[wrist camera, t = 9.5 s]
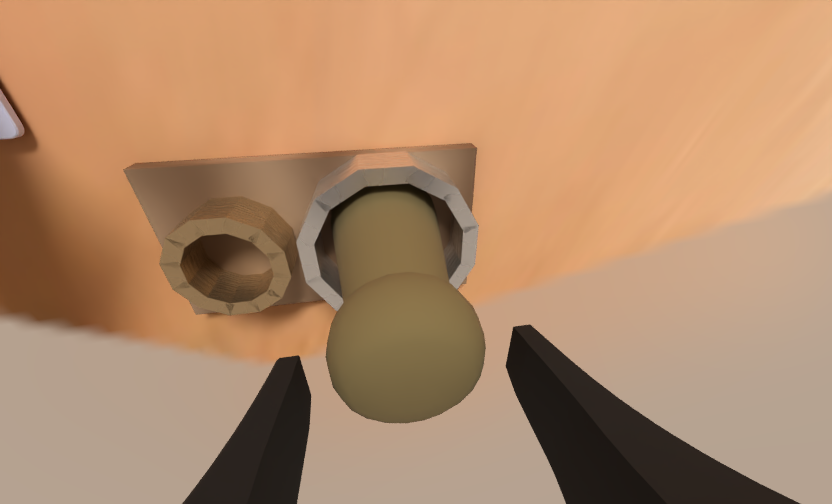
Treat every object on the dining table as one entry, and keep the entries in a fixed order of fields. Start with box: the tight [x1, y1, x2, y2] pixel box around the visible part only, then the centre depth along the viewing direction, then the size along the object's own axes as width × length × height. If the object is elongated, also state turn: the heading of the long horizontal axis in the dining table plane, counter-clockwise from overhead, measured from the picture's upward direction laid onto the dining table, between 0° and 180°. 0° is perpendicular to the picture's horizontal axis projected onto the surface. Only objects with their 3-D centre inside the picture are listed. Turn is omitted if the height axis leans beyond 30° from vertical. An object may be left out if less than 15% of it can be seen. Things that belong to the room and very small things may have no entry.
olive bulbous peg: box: [326, 183, 486, 423], centre depth 14 cm, size 6×6×11 cm
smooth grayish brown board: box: [124, 143, 477, 315], centre depth 19 cm, size 17×9×1 cm, turn 92°
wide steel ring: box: [296, 151, 479, 311], centre depth 18 cm, size 9×9×2 cm
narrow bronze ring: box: [159, 196, 298, 315], centre depth 17 cm, size 6×6×2 cm
